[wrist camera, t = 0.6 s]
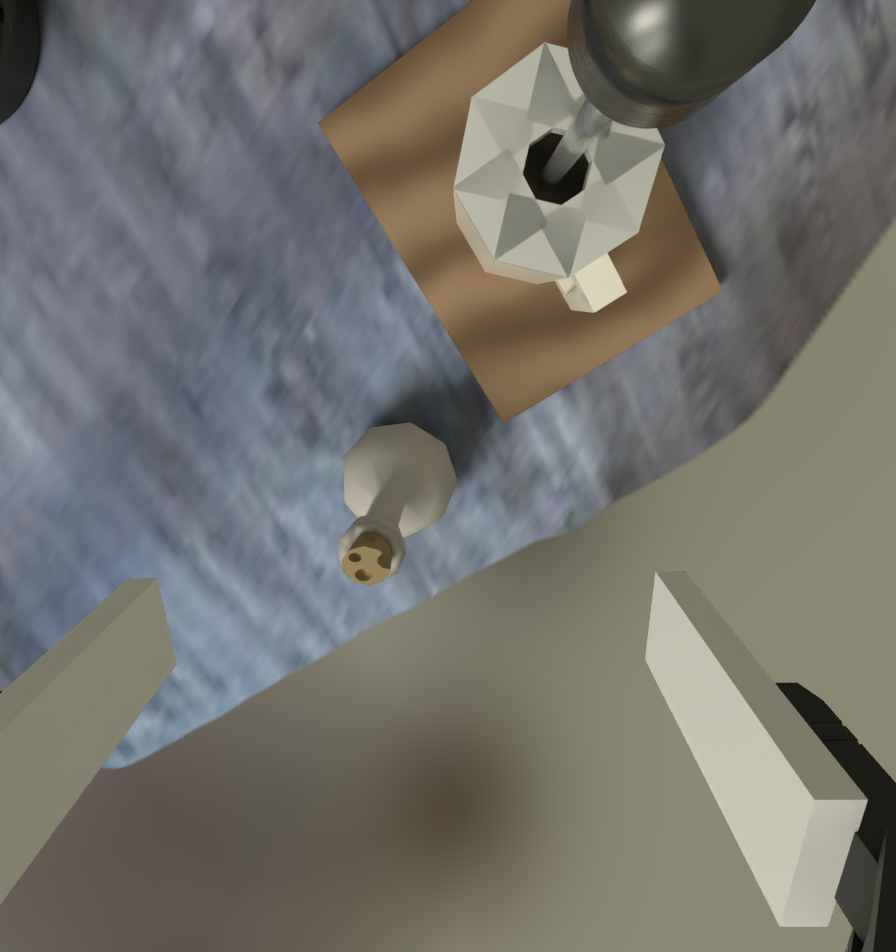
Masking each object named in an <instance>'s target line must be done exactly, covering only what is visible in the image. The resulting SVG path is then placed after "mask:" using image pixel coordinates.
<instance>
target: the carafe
mask: <svg viewBox="0 0 896 952" xmlns="http://www.w3.org/2000/svg"><path fill="white" fill-rule="evenodd" d="M586 98H587V97H586V96H585V95H584V93H583V92H582V90H581V88H580V86H579V85H578V83H577V80H576V78H575V75H574V73H573V70H572V67H571V63H570V59H569V53H568V48H565V47H561V46H557V45H553V44H549V43H546V42H544V43H543V44H542V45H541V46H539V47H538V48H537V49H535V50H534V51H533V52H531V53H530V54H529V55H527V56H526V57H525V58H523V59H522V60H521V61H519V62H518V63H517V64H515V65H514V66H513V67H511V68H510V69H509V70H507V71H506V72H505V73H503V74H502V75H501V76H499V77H498V78H497V79H495V80H494V81H493V82H491V83H490V84H489V85H487V86H486V87H485V88H483V89H482V90H481V91H479V92H478V93H477V94H475V95H474V96H472V97H471V103H470V108H469V113H468V118H467V123H466V128H465V133H464V138H463V143H462V148H461V153H460V158H459V163H458V168H457V173H456V178H455V183H454V187H453V192H454V201H455V210H456V220H457V224H458V226H459V228H460V229H461V231H462V233H463V235H464V236H465V238H466V240H467V242H468V243H469V245H470V247H471V248H472V250H473V252H474V254H475V255H476V257H477V259H478V261H479V262H480V264H481V266H482V267H483V269H484V271H485V272H487V273H491V274H496V275H500V276H504V277H508V278H513V279H517V280H521V281H525V282H530V283H534V284H540V283H545V282H550V281H555V282H556V284H557V286H558V288H559V290H560V291H561V293H562V295H563V297H564V299H565V301H566V302H567V304H568V306H569V307H570V309H571V310H574V311H583V312H592V313H595V312H596V311H598V310H600V309H601V308H603V307H604V306H606V305H608V304H609V303H611V302H612V301H614V300H616V299H617V298H619V297H620V296H622V295H624V294H625V293H627V291H626V289H625V287H624V285H623V284H622V283H623V282H622V281H621V279H620V277H619V275H618V273H617V271H616V269H615V267H614V265H613V263H612V261H611V259H610V257H609V255H608V252H609V251H611V250H612V249H614V248H615V247H617V246H618V245H620V244H621V243H623V242H625V241H626V240H628V239H629V238H631V237H632V236H634V235H635V234H638V232H639V228H640V225H641V222H642V219H643V215H644V212H645V209H646V206H647V202H648V199H649V196H650V192H651V189H652V186H653V183H654V179H655V176H656V173H657V169H658V166H659V163H660V160H661V156H662V153H663V150H664V146H665V144H664V142H663V140H662V138H661V135H660V133H659V131H658V129H657V128H653V129H640V128H634V127H628V126H625V125H622V124H619V123H617V122H615V121H613V120H611V119H610V121H609V122H608V123H607V124H606V126H605V127H604V128H603V129H602V130H601V132H600V133H599V134H598V135H597V137H596V138H595V139H594V140H593V141H592V143H591V144H590V145H589V146H588V148H587V149H586V150H585V151H584V152H583V154H582V155H581V156H580V157H579V159H578V160H577V161H576V162H575V164H574V165H573V166H572V167H571V168H570V170H569V171H568V172H567V173H566V175H565V176H564V177H563V178H562V179H561V181H560V182H559V183H558V184H557V186H556V187H555V188H554V189H553V190H552V191H550V192H543V191H541V190H540V189H539V187H538V177H539V175H540V174H541V172H542V171H543V169H544V167H545V166H546V164H547V162H548V161H549V159H550V157H551V156H552V154H553V152H554V151H555V149H556V148H557V146H558V144H559V143H560V141H561V139H562V138H563V136H564V134H565V133H566V131H567V129H568V128H569V126H570V125H571V123H572V121H573V120H574V118H575V116H576V115H577V113H578V111H579V110H580V108H581V107H582V105H583V103H584V102H585V100H586Z"/></svg>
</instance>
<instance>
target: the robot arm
mask: <svg viewBox="0 0 896 952" xmlns="http://www.w3.org/2000/svg"><path fill="white" fill-rule="evenodd" d="M38 43H39V30H38V18H37V11H36V5H35V0H0V124H1V123H2V122H4V121H5V120H6V119H7V118H8V117H9V116H10V115H11V114H12V113H13V112H14V111H15V110H16V109H17V107H18V106H19V105H20V103H21V102H22V100H23V98H24V97H25V95H26V93H27V91H28V89H29V86H30V84H31V81H32V78H33V75H34V71H35V67H36V62H37V55H38ZM645 660H646V662H647V664H648V666H649V668H650V670H651V672H652V674H653V676H654V678H655V680H656V682H657V684H658V686H659V688H660V689H661V692H662V694H663V696H664V698H665V699H666V702H667V704H668V706H669V707H670V710H671V711H672V713H673V715H674V717H675V719H676V721H677V723H678V725H679V727H680V729H681V731H682V733H683V735H684V737H685V739H686V741H687V743H688V745H689V747H690V749H691V751H692V753H693V755H694V757H695V759H696V761H697V763H698V765H699V767H700V769H701V771H702V773H703V775H704V777H705V779H706V781H707V783H708V785H709V787H710V789H711V791H712V793H713V795H714V797H715V799H716V801H717V803H718V805H719V807H720V809H721V811H722V813H723V814H724V817H725V819H726V821H727V823H728V824H729V827H730V828H731V830H732V832H733V834H734V836H735V838H736V840H737V842H738V844H739V846H740V848H741V850H742V852H743V854H744V856H745V858H746V860H747V862H748V864H749V866H750V868H751V870H752V872H753V874H754V876H755V878H756V880H757V882H758V884H759V886H760V888H761V890H762V892H763V894H764V896H765V898H766V900H767V902H768V904H769V906H770V908H771V910H772V912H773V914H774V916H775V918H776V920H777V922H778V924H779V926H782V927H815V926H816V927H823V926H825V927H827V926H828V925H829V921H830V918H831V915H832V912H833V909H834V906H835V902H836V901H837V903H838V905H839V906H840V908H841V909H842V911H843V913H844V914H845V916H846V917H847V919H848V921H849V922H850V924H851V926H852V927H853V930H852V933H851V936H850V939H849V942H848V945H847V948H846V951H845V952H896V783H895V782H894V780H893V779H892V778H891V777H890V776H889V775H888V774H887V772H886V771H885V770H884V769H883V768H882V767H881V766H880V765H879V763H878V762H877V761H876V760H875V759H874V758H873V757H872V755H871V754H870V753H869V752H868V751H867V750H866V749H865V747H864V746H863V745H862V744H859V743H858V740H857V738H855V736H854V735H853V734H852V733H851V732H850V730H848V728H847V727H846V726H843V725H842V721H841V720H840V719H839V718H838V717H837V716H836V715H835V713H834V712H833V711H832V710H831V709H830V708H829V707H828V705H827V704H826V703H825V702H824V701H823V700H821V699H820V698H819V697H817V696H816V695H814V694H813V693H811V692H810V691H808V690H807V689H806V688H804V687H803V686H801V685H800V684H798V683H774V681H773V680H772V679H771V678H770V676H769V675H768V674H767V673H766V671H765V670H764V669H763V668H762V667H761V665H760V664H759V663H758V661H757V660H756V659H755V658H754V656H753V655H752V654H751V653H750V651H749V650H748V649H747V648H746V646H745V645H744V644H743V643H742V641H741V640H740V639H739V638H738V637H737V635H736V634H735V633H734V632H733V630H732V629H731V628H730V626H729V625H728V624H727V623H726V621H725V620H724V619H723V618H722V616H721V615H720V614H719V613H718V611H717V610H716V609H715V608H714V606H713V605H712V604H711V603H710V601H709V600H708V599H707V598H706V596H705V595H704V594H703V593H702V591H701V590H700V589H699V588H698V587H697V585H696V584H695V583H694V581H693V580H692V579H691V578H690V576H689V575H688V574H687V573H686V572H685V571H658V572H656V573H655V581H654V590H653V598H652V607H651V615H650V624H649V632H648V641H647V649H646V657H645ZM176 665H177V662H176V658H175V653H174V649H173V644H172V640H171V636H170V631H169V627H168V622H167V618H166V614H165V609H164V605H163V601H162V596H161V592H160V587H159V583H158V579H157V578H129V579H127V580H126V581H125V582H124V583H123V584H122V585H121V586H120V587H119V588H117V589H116V590H115V591H114V592H113V593H112V594H111V595H110V596H109V597H107V598H106V599H105V600H104V601H103V602H102V603H101V604H100V605H99V606H97V607H96V608H95V609H94V610H93V611H92V612H91V613H90V614H89V615H87V616H86V617H85V618H84V619H83V620H82V621H81V622H80V623H79V624H77V625H76V626H75V627H74V628H73V629H72V630H71V631H70V632H69V633H67V634H66V635H65V636H64V637H63V638H62V639H61V640H60V641H59V642H57V643H56V644H55V645H54V646H53V647H52V648H51V649H50V650H48V651H47V652H46V653H45V654H44V655H43V656H42V657H41V658H40V659H38V660H37V661H36V662H35V663H34V664H33V665H32V666H31V667H30V668H28V669H27V670H26V671H25V672H24V673H23V674H22V675H21V676H20V677H18V678H17V679H16V680H15V681H14V682H13V683H12V684H11V685H10V686H8V688H6V689H5V690H4V691H0V904H1V903H2V901H3V900H4V898H5V897H6V896H7V894H8V893H9V892H10V890H11V889H12V887H13V886H14V885H15V884H16V882H17V881H18V879H19V878H20V877H21V875H22V874H23V873H24V871H25V870H26V868H27V867H28V866H29V864H30V863H31V862H32V860H33V859H34V858H35V856H36V855H37V854H38V852H39V851H40V850H41V848H42V847H43V845H44V844H45V843H46V841H47V840H48V839H49V837H50V836H51V835H52V833H53V832H54V830H55V829H56V828H57V826H58V825H59V824H60V822H61V821H62V820H63V818H64V817H65V816H66V814H67V813H68V811H69V810H70V809H71V807H72V806H73V805H74V803H75V802H76V801H77V799H78V798H79V796H80V795H81V793H82V792H83V791H84V790H85V788H86V787H87V786H88V784H89V783H90V781H91V780H92V779H93V777H94V776H95V775H96V773H97V772H98V771H99V769H100V768H101V767H102V765H103V764H104V762H105V761H106V760H107V758H108V757H109V756H110V754H111V753H112V752H113V750H114V749H115V747H116V746H117V745H118V743H119V742H120V741H121V739H122V738H123V737H124V735H125V734H126V733H127V731H128V730H129V728H130V727H131V726H132V724H133V723H134V722H135V720H136V719H137V718H138V716H139V715H140V713H141V712H142V711H143V709H144V708H145V707H146V705H147V704H148V703H149V701H150V700H151V699H152V697H153V696H154V694H155V693H156V692H157V690H158V689H159V688H160V686H161V685H162V684H163V682H164V681H165V679H166V678H167V677H168V675H169V674H170V673H171V671H172V670H173V669H174V667H175V666H176Z"/></svg>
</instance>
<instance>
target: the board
mask: <svg viewBox="0 0 896 952" xmlns="http://www.w3.org/2000/svg"><path fill="white" fill-rule="evenodd" d="M570 2H571V0H473V1H472V2H471V3H469V4H468V5H467V6H466V7H464V8H463V9H462V10H461V11H459V12H458V13H457V14H456V15H454V16H453V17H452V18H450V19H449V20H448V21H447V22H445V23H444V24H443V25H442V26H440V27H439V28H438V29H436V30H435V31H434V32H433V33H431V34H430V35H429V36H428V37H426V38H425V39H424V40H423V41H421V42H420V43H419V44H417V45H416V46H415V47H414V48H412V49H411V50H410V51H409V52H407V53H406V54H405V55H403V56H402V57H401V58H400V59H398V60H397V61H396V62H395V63H393V64H392V65H391V66H390V67H388V68H387V69H386V70H384V71H383V72H382V73H381V74H379V75H378V76H377V77H376V78H374V79H373V80H372V81H370V82H369V83H368V84H367V85H365V86H364V87H363V88H362V89H360V90H359V91H358V92H357V93H355V94H354V95H353V96H351V97H350V98H349V99H348V100H346V101H345V102H344V103H343V104H341V105H340V106H339V107H337V108H336V109H335V110H334V111H332V112H331V113H330V114H329V115H327V116H326V117H325V118H324V119H322V120H321V121H320V122H318V124H319V125H320V127H321V129H322V130H323V132H324V133H325V135H326V137H327V138H328V140H329V142H330V143H331V145H332V146H333V148H334V150H335V151H336V153H337V154H338V156H339V158H340V159H341V161H342V163H343V164H344V166H345V167H346V169H347V171H348V172H349V174H350V176H351V177H352V179H353V180H354V182H355V184H356V185H357V187H358V188H359V190H360V192H361V193H362V195H363V197H364V198H365V200H366V201H367V203H368V205H369V206H370V208H371V210H372V211H373V213H374V214H375V216H376V218H377V219H378V221H379V223H380V224H381V226H382V227H383V229H384V231H385V232H386V234H387V235H388V237H389V239H390V240H391V242H392V244H393V245H394V247H395V248H396V250H397V252H398V253H399V255H400V257H401V258H402V260H403V261H404V263H405V265H406V266H407V268H408V270H409V271H410V273H411V274H412V276H413V278H414V279H415V281H416V282H417V284H418V286H419V287H420V289H421V291H422V292H423V294H424V295H425V297H426V299H427V300H428V302H429V304H430V305H431V307H432V308H433V310H434V312H435V313H436V315H437V316H438V318H439V320H440V321H441V323H442V325H443V326H444V328H445V329H446V331H447V333H448V334H449V336H450V338H451V339H452V341H453V342H454V344H455V346H456V347H457V349H458V351H459V352H460V354H461V355H462V357H463V359H464V360H465V362H466V363H467V365H468V367H469V368H470V370H471V372H472V373H473V375H474V376H475V378H476V380H477V381H478V383H479V385H480V386H481V388H482V389H483V391H484V393H485V394H486V396H487V398H488V399H489V401H490V402H491V404H492V406H493V407H494V409H495V410H496V412H497V414H498V415H499V417H500V419H501V420H502V422H503V423H506V422H507V421H509V420H511V419H512V418H514V417H516V416H517V415H519V414H520V413H522V412H524V411H525V410H527V409H529V408H530V407H532V406H534V405H535V404H537V403H539V402H540V401H542V400H544V399H545V398H547V397H549V396H550V395H552V394H554V393H555V392H557V391H558V390H560V389H562V388H563V387H565V386H567V385H568V384H570V383H572V382H573V381H575V380H577V379H578V378H580V377H582V376H583V375H585V374H587V373H588V372H590V371H592V370H593V369H595V368H597V367H598V366H600V365H601V364H603V363H605V362H606V361H608V360H610V359H611V358H613V357H615V356H616V355H618V354H620V353H621V352H623V351H625V350H626V349H628V348H630V347H631V346H633V345H635V344H636V343H638V342H639V341H641V340H643V339H644V338H646V337H648V336H649V335H651V334H653V333H654V332H656V331H658V330H659V329H661V328H663V327H664V326H666V325H668V324H669V323H671V322H673V321H674V320H676V319H677V318H679V317H681V316H682V315H684V314H686V313H687V312H689V311H691V310H692V309H694V308H696V307H697V306H699V305H701V304H702V303H704V302H706V301H707V300H709V299H711V298H712V297H714V296H716V295H717V294H719V293H720V292H722V291H723V290H722V288H721V286H720V284H719V282H718V280H717V277H716V275H715V273H714V271H713V269H712V267H711V264H710V262H709V260H708V258H707V256H706V254H705V251H704V249H703V247H702V245H701V243H700V241H699V239H698V236H697V234H696V232H695V230H694V228H693V226H692V223H691V221H690V219H689V217H688V215H687V213H686V210H685V208H684V206H683V204H682V202H681V200H680V197H679V195H678V193H677V191H676V189H675V187H674V185H673V182H672V180H671V178H670V176H669V174H668V172H667V169H666V167H665V165H664V163H663V161H662V159H661V160H660V163H659V166H658V169H657V173H656V176H655V179H654V183H653V186H652V189H651V192H650V196H649V199H648V202H647V206H646V209H645V212H644V215H643V219H642V222H641V225H640V228H639V232H638V234H635V235H634V236H632V237H631V238H629V239H628V240H626V241H625V242H623V243H621V244H620V245H618V246H617V247H615V248H614V249H612V250H611V251H609V252H608V255H609V257H610V259H611V261H612V263H613V265H614V267H615V269H616V271H617V273H618V275H619V277H620V279H621V281H622V282H623V283H622V284H623V285H624V287H625V289H626V291H627V293H625V294H624V295H622V296H620V297H619V298H617V299H616V300H614V301H612V302H611V303H609V304H608V305H606V306H604V307H603V308H601V309H600V310H598V311H596V312H595V313H592V312H583V311H574V310H571V309H570V307H569V306H568V304H567V302H566V301H565V299H564V297H563V295H562V293H561V291H560V290H559V288H558V286H557V284H556V282H555V281H550V282H545V283H540V284H534V283H530V282H525V281H521V280H517V279H513V278H508V277H504V276H500V275H496V274H491V273H487V272H485V271H484V269H483V267H482V266H481V264H480V262H479V261H478V259H477V257H476V255H475V254H474V252H473V250H472V248H471V247H470V245H469V243H468V242H467V240H466V238H465V236H464V235H463V233H462V231H461V229H460V228H459V226H458V224H457V220H456V210H455V201H454V192H453V187H454V183H455V178H456V173H457V168H458V163H459V158H460V153H461V148H462V143H463V138H464V133H465V128H466V123H467V118H468V113H469V108H470V103H471V97H472V96H474V95H475V94H477V93H478V92H479V91H481V90H482V89H483V88H485V87H486V86H487V85H489V84H490V83H491V82H493V81H494V80H495V79H497V78H498V77H499V76H501V75H502V74H503V73H505V72H506V71H507V70H509V69H510V68H511V67H513V66H514V65H515V64H517V63H518V62H519V61H521V60H522V59H523V58H525V57H526V56H527V55H529V54H530V53H531V52H533V51H534V50H535V49H537V48H538V47H539V46H541V45H542V44H543V43H544V42H546V43H549V44H553V45H557V46H561V47H565V48H568V46H567V21H568V13H569V8H570Z"/></svg>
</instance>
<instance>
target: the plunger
mask: <svg viewBox="0 0 896 952" xmlns="http://www.w3.org/2000/svg"><path fill="white" fill-rule="evenodd" d="M815 1H816V0H571V2H570V8H569V13H568V21H567V46H568V53H569V59H570V63H571V67H572V70H573V73H574V75H575V78H576V80H577V83H578V85H579V86H580V88H581V90H582V92H583V93H584V95H585V96H586V97H587V98H586V100H585V102H584V103H583V105H582V107H581V108H580V110H579V111H578V113H577V115H576V116H575V118H574V120H573V121H572V123H571V125H570V126H569V128H568V129H567V131H566V133H565V134H564V136H563V138H562V139H561V141H560V143H559V144H558V146H557V148H556V149H555V151H554V152H553V154H552V156H551V157H550V159H549V161H548V162H547V164H546V166H545V167H544V169H543V171H542V172H541V174H540V175H539V177H538V187H539V189H540V190H541V191H543V192H550V191H552V190H553V189H554V188H555V187H556V186H557V184H558V183H559V182H560V181H561V179H562V178H563V177H564V176H565V175H566V173H567V172H568V171H569V170H570V168H571V167H572V166H573V165H574V164H575V162H576V161H577V160H578V159H579V157H580V156H581V155H582V154H583V152H584V151H585V150H586V149H587V148H588V146H589V145H590V144H591V143H592V141H593V140H594V139H595V138H596V137H597V135H598V134H599V133H600V132H601V130H602V129H603V128H604V127H605V126H606V124H607V123H608V122H609V121H610V119H611V120H613V121H615V122H617V123H619V124H622V125H625V126H628V127H634V128H640V129H653V128H661V127H665V126H669V125H673V124H675V123H678V122H680V121H682V120H685V119H687V118H688V117H690V116H692V115H693V114H695V113H697V112H698V111H699V110H700V109H702V108H703V107H704V106H706V105H707V104H708V103H709V102H711V101H712V100H713V99H714V98H716V97H717V96H718V95H719V94H721V93H722V92H723V91H724V90H726V89H727V88H728V87H729V86H731V85H732V84H733V83H734V82H736V81H737V80H738V79H739V78H741V77H742V76H743V75H744V74H746V73H747V72H748V71H750V70H751V69H752V68H753V67H755V66H756V65H757V64H758V63H760V62H761V61H762V60H763V59H765V58H766V57H767V56H768V55H770V54H771V53H772V52H773V51H775V50H776V49H777V48H778V47H779V46H780V45H781V44H782V43H783V42H784V41H785V40H787V39H788V38H789V37H790V36H791V35H792V33H793V32H794V31H795V30H796V29H797V27H798V26H799V25H800V24H801V23H802V21H803V20H804V19H805V17H806V16H807V14H808V13H809V11H810V10H811V8H812V7H813V5H814V3H815Z"/></svg>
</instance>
